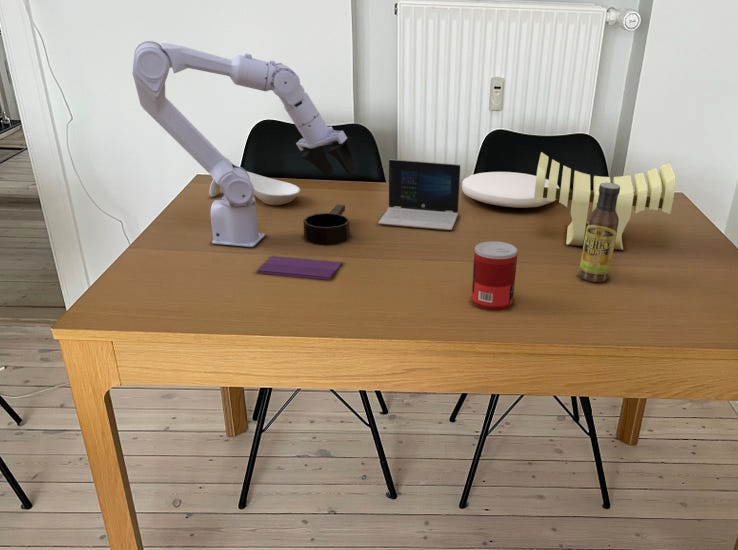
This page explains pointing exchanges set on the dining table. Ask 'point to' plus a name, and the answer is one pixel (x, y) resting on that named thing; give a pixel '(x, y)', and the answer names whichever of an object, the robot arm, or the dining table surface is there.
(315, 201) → the dining table surface
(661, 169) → the slatted curved stool
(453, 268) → the dining table surface
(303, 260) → the rag
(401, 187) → the laptop
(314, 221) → the pan
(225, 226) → the robot arm
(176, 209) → the dining table surface
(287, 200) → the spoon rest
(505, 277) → the canned food
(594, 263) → the sauce bottle
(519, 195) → the plate
